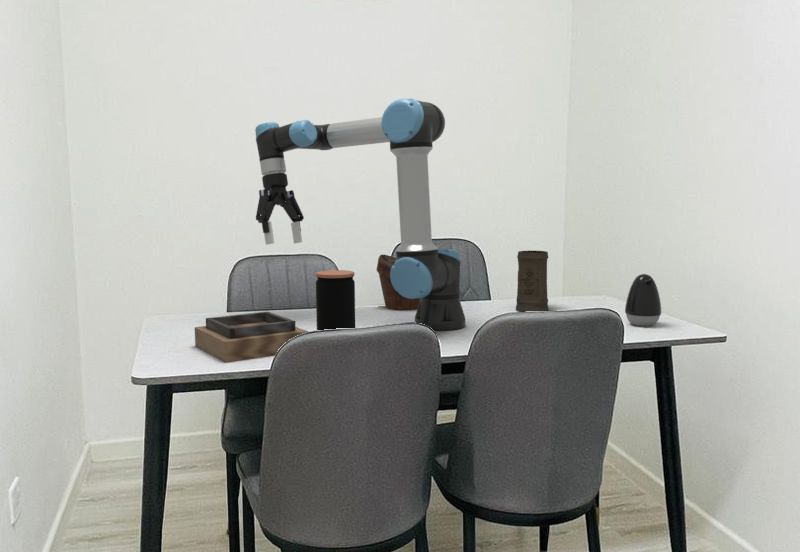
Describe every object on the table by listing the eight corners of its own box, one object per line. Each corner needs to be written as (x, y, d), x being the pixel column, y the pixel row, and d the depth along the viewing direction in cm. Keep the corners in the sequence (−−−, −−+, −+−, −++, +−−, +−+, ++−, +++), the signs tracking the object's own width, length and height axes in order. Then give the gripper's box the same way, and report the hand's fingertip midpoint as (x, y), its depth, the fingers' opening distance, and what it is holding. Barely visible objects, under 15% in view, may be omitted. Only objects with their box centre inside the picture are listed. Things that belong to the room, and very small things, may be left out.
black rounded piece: (632, 328, 219) (634, 276, 217) (619, 322, 229) (621, 272, 227) (666, 328, 219) (668, 276, 217) (652, 321, 229) (654, 271, 227)
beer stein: (548, 313, 243) (549, 251, 242) (514, 312, 245) (515, 251, 244) (548, 309, 258) (550, 250, 257) (516, 308, 260) (518, 249, 259)
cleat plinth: (272, 335, 212) (271, 309, 211) (308, 350, 193) (307, 321, 193) (195, 345, 200) (194, 317, 199) (225, 362, 181) (224, 331, 180)
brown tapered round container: (442, 309, 252) (441, 255, 250) (384, 313, 247) (383, 258, 245) (425, 302, 269) (424, 251, 267) (370, 305, 264) (369, 254, 262)
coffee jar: (334, 331, 217) (333, 269, 215) (363, 335, 211) (362, 271, 209) (308, 337, 209) (307, 273, 207) (338, 342, 203) (337, 275, 200)
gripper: (289, 179, 243) (299, 244, 243) (237, 174, 222) (247, 246, 221) (308, 174, 240) (318, 240, 239) (256, 169, 218) (267, 242, 218)
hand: (284, 243), depth 230 cm, fingers open, 13 cm apart
